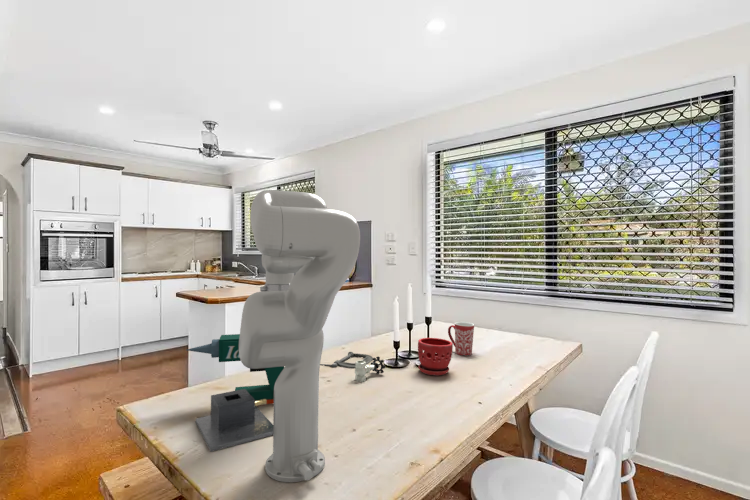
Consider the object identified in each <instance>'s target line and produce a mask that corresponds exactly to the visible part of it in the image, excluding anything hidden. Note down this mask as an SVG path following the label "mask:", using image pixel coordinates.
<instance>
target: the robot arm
mask: <svg viewBox="0 0 750 500" xmlns="http://www.w3.org/2000/svg"><path fill="white" fill-rule="evenodd" d="M249 215H250V216H249V219H250V226H251V230H252V234H253V240H254V243H255V246H256V249H257V250H258V251H259V253H261V265H262V266H261V267H262V268H264V270H265V283H264V286H260V287H259V291H257V292H253V293H252V294H250V295H249V296H248V297H247V298H246V300H245V302H244V304H243V307H242V312H241V320H240V321H241V323H240V327H239V328H240V329H239V334H240V336H239V356H240V360H241V361H240V362H241V364H242V365H243V367H245V368H247V369H249V370H250V369H259V368H270V367H279V366H282V367H283V366H284V369H283V370H282V372H281V373H280V375H279V376H278V378H277V380H276V382H275V386H274V403H273V415H272V416H273V419H272V420H273V423H272V424H273V435H272V436H273V437H272V444H273V445H272V454H270V455H269V456H268V457H267V458H266V461H265V463H264V465H265V466H264V468H265V472H266V474H267V475H268V476H269V478H271V479H272V480H275V481H279V482H281V483H282V482H283V483H296V482H302V481H310V480H311V479H312V478H314V477H315V476H317V475H319V474H320V473H321V471H323V469H324V467H325V464H326V457H325V455H324V454H323V452H322V451H320V450H319V401H320V400H319V399H320V398H319V397H320V396H319V395H320V394H319V393H320V391H319V390H320V389H319V387H320V386H319V385H320V384H319V383H320V368H321V365H320V364H321V360H322V354H323V348H324V341H325V338H324V337H325V335H324V330H323V328H324V326H325V324H326V321H327V319H328V316H329V314H330V311H331V309H332V306H333V305H334V304H333V303H334V300H335V298H336V296H337V294H338V292H339V291H340V290H341V288H342V287H343V286H344V284H345V283H346V281H347V280H348V279H349V277H350V275H351V274H352V272H353V269H354V268H355V266H356V264H357V260H358V256H359V252H360V245H361V230H360V227H359V224H358V221H357V220H356V219H355V217H354V216H353V215H351V214H349V213H347V212H345V211H342V210H339V209H338V210H337V209H333V208H332V209H330V208H327V205H326V202H325V201H324V200H323V199H322V198H321V197H320V196H318V195H317V194H314V193H310V192H306V191H293V190H292V191H291V190H280V189H279V190H277V189H266V190H265V189H264V190H261V191H260V192H258V193H257V194H256V195H255V197H254V198H253V199H252V203H251V206H250V214H249Z"/></svg>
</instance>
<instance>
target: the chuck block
mask: <svg viewBox="0 0 750 500" xmlns="http://www.w3.org/2000/svg"><path fill="white" fill-rule="evenodd" d="M266 403H267V401H266V399H262V400H257V401H255V399H254V398H253V397H252V396H251V395H250V394H249V393H248V392H247V391H246V390H245V389H242V390H236V391H235V390H233V391H227V392H221V393H217V394H211V395H210V415H206V416H201V417H198V418H195V424H196V426H197V428H198V430H199V432H200V434H201V436H202V438H203V439H204V442H205V444H206V447H207V448H208V450H209V452H210V453H211V452H216V451H218V450H219V451H220V450H222V449H225V448H226V449H227V448H231V447H234V446H237V445H238V446H239V445H241V444H244V443H250V442H252V441H256V440H261V439H263V438H267V437H271V436H273V423H272V422H271V421H270V420H269V418H268V417H267V416H266V415H265V414H264V413H263V412H262V411H261V410H260V409H259V408H258V407H259V406H263V405H267V404H266Z"/></svg>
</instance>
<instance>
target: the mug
mask: <svg viewBox="0 0 750 500" xmlns="http://www.w3.org/2000/svg"><path fill="white" fill-rule="evenodd" d="M452 328H453V329H454V338H453V336H452V332H451V331H452V330H451V329H452ZM474 332H475V324H474V323H473V322H467V321H457V322H454V325H450V326H448V328H447V334H448V337H449V341H450V342H452V343H453V347H455V350H454V352H455V354H456V355H459V356H463V355H465V356H467V355H469V356H471V355H473V346H474V343H473V342H474V335H475V334H474Z"/></svg>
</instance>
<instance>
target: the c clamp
mask: <svg viewBox="0 0 750 500" xmlns="http://www.w3.org/2000/svg"><path fill="white" fill-rule="evenodd" d="M350 357H351V358H361V357H363V358H362V360H360V361H365V362H366V365H369V363H372V362H373V360H372V358H374V357H373V356H372V355H371V354H365V353H354V352H353V351H349V352H348V353H347V355H345V356H344V357H342V358H341V359H337V360H335V361H334V362H333V363H331V364H328V363H327V364H326V363H320V366H323V365H325V366H324V367H331V368H337V367H338V366H339V367H341V368H346V369H355V368H356V366H355V362H345V361H347V360H349V359H350Z"/></svg>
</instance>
